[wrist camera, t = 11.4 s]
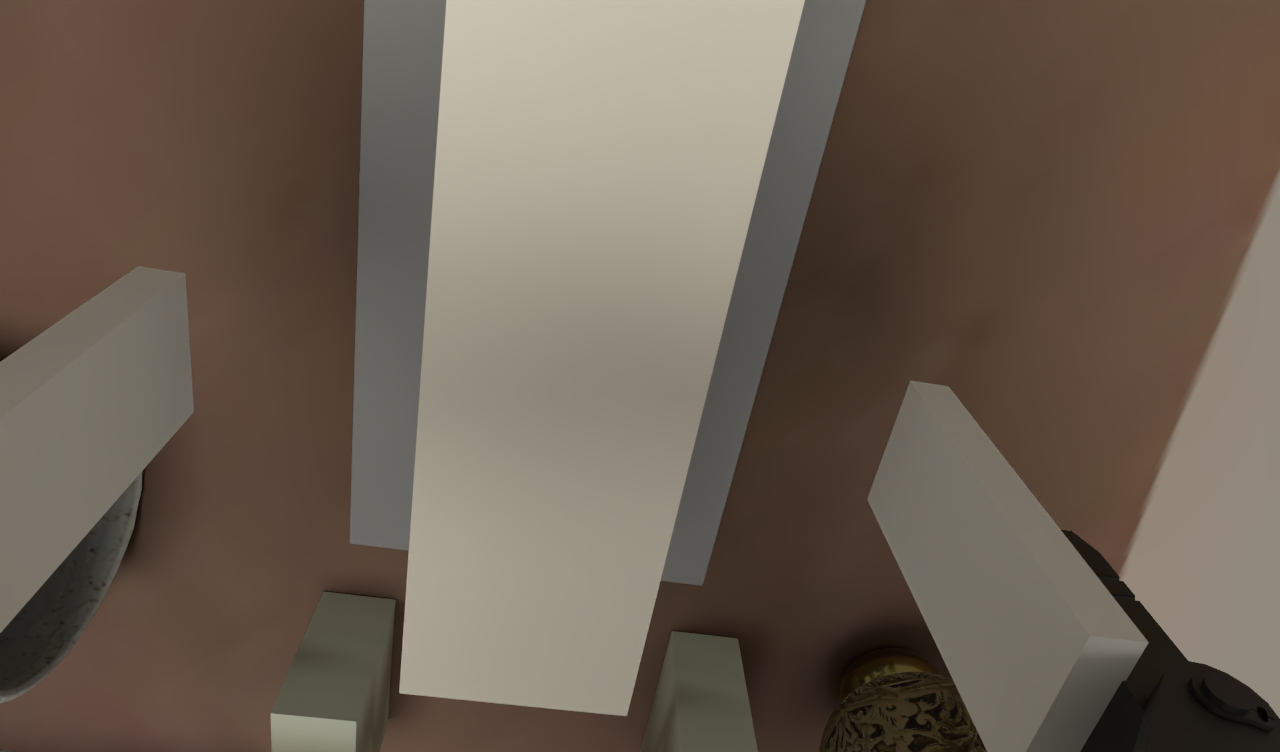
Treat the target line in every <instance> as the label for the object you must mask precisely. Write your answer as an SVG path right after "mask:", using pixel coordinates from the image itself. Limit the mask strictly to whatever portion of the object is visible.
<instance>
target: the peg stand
mask: <svg viewBox="0 0 1280 752" xmlns="http://www.w3.org/2000/svg"><path fill="white" fill-rule="evenodd" d="M865 2H866V0H805V2H804V6H803V10H802V14H801V18H800V22H799V26H798V30H797V34H796V38H795V42H794V46H793V50H792V54H791V58H790V62H789V66H788V70H787V74H786V78H785V82H784V86H783V90H782V94H781V98H780V102H779V106H778V110H777V115H776V119H775V123H774V127H773V131H772V135H771V139H770V143H769V147H768V151H767V155H766V159H765V163H764V167H763V171H762V175H761V179H760V183H759V187H758V191H757V195H756V199H755V203H754V207H753V211H752V215H751V219H750V223H749V227H748V231H747V235H746V239H745V243H744V247H743V251H742V255H741V259H740V263H739V267H738V271H737V275H736V279H735V283H734V287H733V291H732V295H731V299H730V303H729V307H728V311H727V315H726V319H725V324H724V328H723V332H722V336H721V340H720V344H719V348H718V352H717V356H716V360H715V364H714V368H713V372H712V376H711V380H710V384H709V388H708V392H707V396H706V400H705V404H704V408H703V412H702V416H701V420H700V424H699V428H698V432H697V436H696V440H695V444H694V448H693V452H692V456H691V460H690V464H689V468H688V472H687V476H686V480H685V484H684V488H683V492H682V496H681V500H680V504H679V508H678V512H677V516H676V520H675V524H674V529H673V533H672V537H671V541H670V545H669V549H668V553H667V557H666V561H665V565H664V569H663V573H662V577H661V581H667V582H676V583H684V584H692V585H701V586H702V585H703V582H704V578H705V575H706V571H707V567H708V564H709V560H710V557H711V553H712V550H713V546H714V542H715V539H716V535H717V532H718V528H719V525H720V521H721V517H722V514H723V510H724V507H725V503H726V500H727V496H728V492H729V489H730V485H731V482H732V478H733V474H734V471H735V467H736V464H737V460H738V457H739V453H740V449H741V446H742V442H743V439H744V435H745V432H746V428H747V424H748V421H749V417H750V414H751V410H752V407H753V403H754V399H755V396H756V392H757V389H758V385H759V382H760V378H761V374H762V371H763V367H764V364H765V360H766V356H767V353H768V349H769V346H770V342H771V339H772V335H773V331H774V328H775V324H776V321H777V317H778V314H779V310H780V306H781V303H782V299H783V296H784V292H785V289H786V285H787V281H788V278H789V274H790V271H791V267H792V263H793V260H794V256H795V253H796V249H797V246H798V242H799V238H800V235H801V231H802V228H803V224H804V221H805V217H806V213H807V210H808V206H809V203H810V199H811V196H812V192H813V188H814V185H815V181H816V178H817V174H818V171H819V167H820V163H821V160H822V156H823V153H824V149H825V145H826V142H827V138H828V135H829V131H830V128H831V124H832V120H833V117H834V113H835V110H836V106H837V103H838V99H839V95H840V92H841V88H842V85H843V81H844V78H845V74H846V70H847V67H848V63H849V60H850V56H851V52H852V49H853V45H854V42H855V38H856V35H857V31H858V27H859V24H860V20H861V17H862V13H863V10H864V6H865ZM445 14H446V0H364V35H363V72H362V109H361V146H360V183H359V220H358V257H357V294H356V331H355V368H354V405H353V442H352V479H351V515H350V544H358V545H366V546H375V547H383V548H391V549H400V550H408V551H409V541H410V526H411V511H412V497H413V482H414V467H415V453H416V438H417V424H418V409H419V394H420V380H421V365H422V350H423V336H424V321H425V306H426V292H427V277H428V262H429V248H430V233H431V219H432V204H433V189H434V175H435V160H436V145H437V131H438V116H439V101H440V87H441V72H442V57H443V43H444V28H445Z"/></svg>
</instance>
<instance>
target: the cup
mask: <svg viewBox="0 0 1280 752" xmlns="http://www.w3.org/2000/svg"><path fill="white" fill-rule="evenodd" d="M839 703H840V704H839V705H838V706H837V708H836V709H835V710H834V712H833V713H832V715H831V717H830V718H829V721H828V723H827V725H826V727H825V730H824V732H823V736H822V740H821V745H820V751H819V752H987V750H986V748H985V746H984V744H983V742H982V740H981V738H980V736H979V733H978V731H977V729H976V727H975V725H974V723H973V721H972V719H971V717H970V715H969V712H968V710H967V708H966V706H965V704H964V702H963V700H962V698H961V696H960V694H959V691H958V689H957V687H956V685H955V683H954V681H953V679H951V678H948V677H945V676H941V675H939V673H938V671H937V670H936V669H935V668H934V666H933V665H932V664H931V663H929V662H928V661H927V660H926V659H925V658H923V657H922V656H920V655H919V654H917V653H915V652H913V651H910V650H907V649H903V648H883V649H878V650H874V651H871V652H869V653H867V654H865V655H863V656H861V657H859V658H858V659H857V660H855V661H854V662H853V663H852V664H851V665H850V666H849V667H848V669H847V670H846V672H845V673H844V675H843V678H842V681H841V685H840V690H839Z"/></svg>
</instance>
